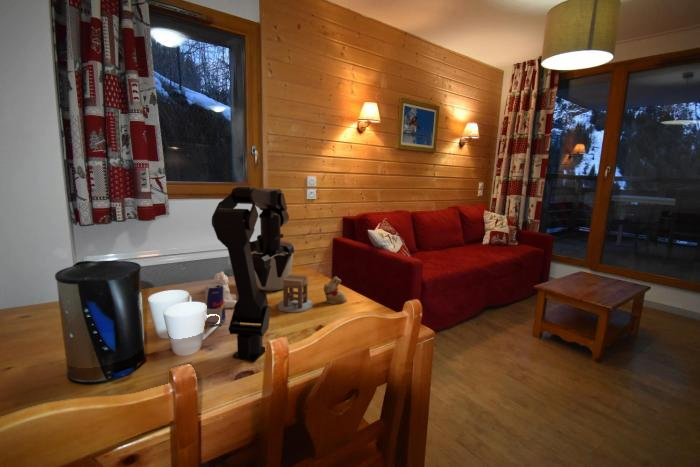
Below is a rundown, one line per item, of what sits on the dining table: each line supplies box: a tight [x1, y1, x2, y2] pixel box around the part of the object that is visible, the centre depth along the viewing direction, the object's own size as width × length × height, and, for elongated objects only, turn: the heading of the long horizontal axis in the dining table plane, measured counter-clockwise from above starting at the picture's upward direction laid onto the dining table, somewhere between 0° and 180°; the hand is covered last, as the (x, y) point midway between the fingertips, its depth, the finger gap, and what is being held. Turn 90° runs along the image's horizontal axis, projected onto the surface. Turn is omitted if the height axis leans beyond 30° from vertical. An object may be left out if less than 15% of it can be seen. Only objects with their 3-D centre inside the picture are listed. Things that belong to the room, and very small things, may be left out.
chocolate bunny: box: [323, 275, 348, 305], centre depth 121 cm, size 6×8×10 cm
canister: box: [251, 240, 296, 292], centre depth 133 cm, size 18×18×21 cm
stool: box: [282, 273, 308, 308], centre depth 116 cm, size 6×6×10 cm
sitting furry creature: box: [214, 271, 237, 309], centre depth 115 cm, size 10×9×12 cm
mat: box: [277, 298, 314, 314], centre depth 117 cm, size 12×12×1 cm
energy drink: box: [204, 282, 227, 326], centre depth 102 cm, size 5×5×12 cm
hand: (271, 281), depth 102 cm, fingers open, 9 cm apart
